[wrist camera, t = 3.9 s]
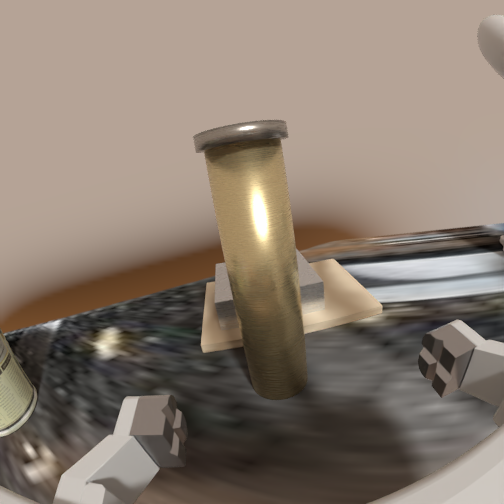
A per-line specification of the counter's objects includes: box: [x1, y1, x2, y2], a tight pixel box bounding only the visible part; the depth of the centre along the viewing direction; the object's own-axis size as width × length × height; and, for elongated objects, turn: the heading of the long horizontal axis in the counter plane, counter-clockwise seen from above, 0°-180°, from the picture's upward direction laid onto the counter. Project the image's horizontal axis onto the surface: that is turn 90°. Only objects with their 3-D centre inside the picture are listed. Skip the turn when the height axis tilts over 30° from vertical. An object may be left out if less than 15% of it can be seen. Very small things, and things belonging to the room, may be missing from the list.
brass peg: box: [194, 120, 308, 400], centre depth 20 cm, size 6×6×20 cm
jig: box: [214, 249, 325, 330], centre depth 35 cm, size 12×12×4 cm
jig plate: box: [201, 259, 382, 353], centre depth 36 cm, size 20×16×1 cm
